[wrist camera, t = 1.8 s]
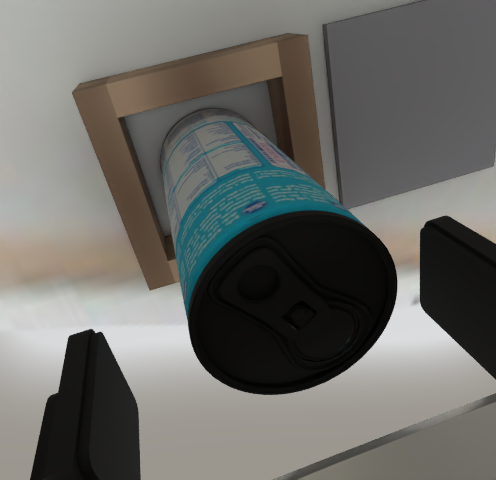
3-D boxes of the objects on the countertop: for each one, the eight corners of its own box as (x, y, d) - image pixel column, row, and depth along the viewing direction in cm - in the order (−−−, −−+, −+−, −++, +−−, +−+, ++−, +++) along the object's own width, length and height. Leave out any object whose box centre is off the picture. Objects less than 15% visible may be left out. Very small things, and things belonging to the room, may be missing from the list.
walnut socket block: (287, 33, 22) (307, 34, 20) (312, 215, 28) (330, 235, 25) (79, 83, 21) (71, 92, 18) (148, 264, 26) (149, 290, 24)
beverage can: (201, 224, 26) (265, 425, 13) (137, 148, 23) (139, 312, 10) (279, 167, 26) (427, 318, 13) (224, 82, 23) (343, 166, 10)
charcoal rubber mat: (505, -20, 24) (513, -21, 23) (488, 163, 29) (493, 166, 29) (322, 24, 22) (326, 24, 22) (340, 207, 28) (343, 210, 27)
